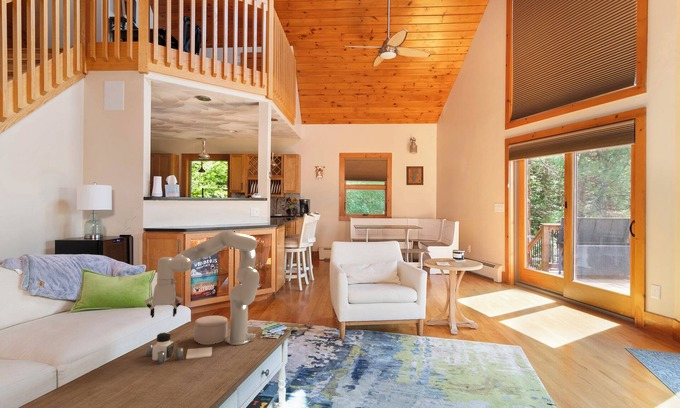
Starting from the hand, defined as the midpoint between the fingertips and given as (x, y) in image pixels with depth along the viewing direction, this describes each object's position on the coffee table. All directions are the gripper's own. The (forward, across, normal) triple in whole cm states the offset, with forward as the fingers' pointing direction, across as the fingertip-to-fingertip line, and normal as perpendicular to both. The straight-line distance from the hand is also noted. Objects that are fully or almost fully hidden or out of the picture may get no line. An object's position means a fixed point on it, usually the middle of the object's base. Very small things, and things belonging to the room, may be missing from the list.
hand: (163, 316), depth 181 cm
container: (+20, -23, -21) cm, 37 cm away
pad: (+20, -18, -1) cm, 27 cm away
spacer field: (+20, -1, 0) cm, 20 cm away
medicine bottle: (+21, -1, 0) cm, 21 cm away
